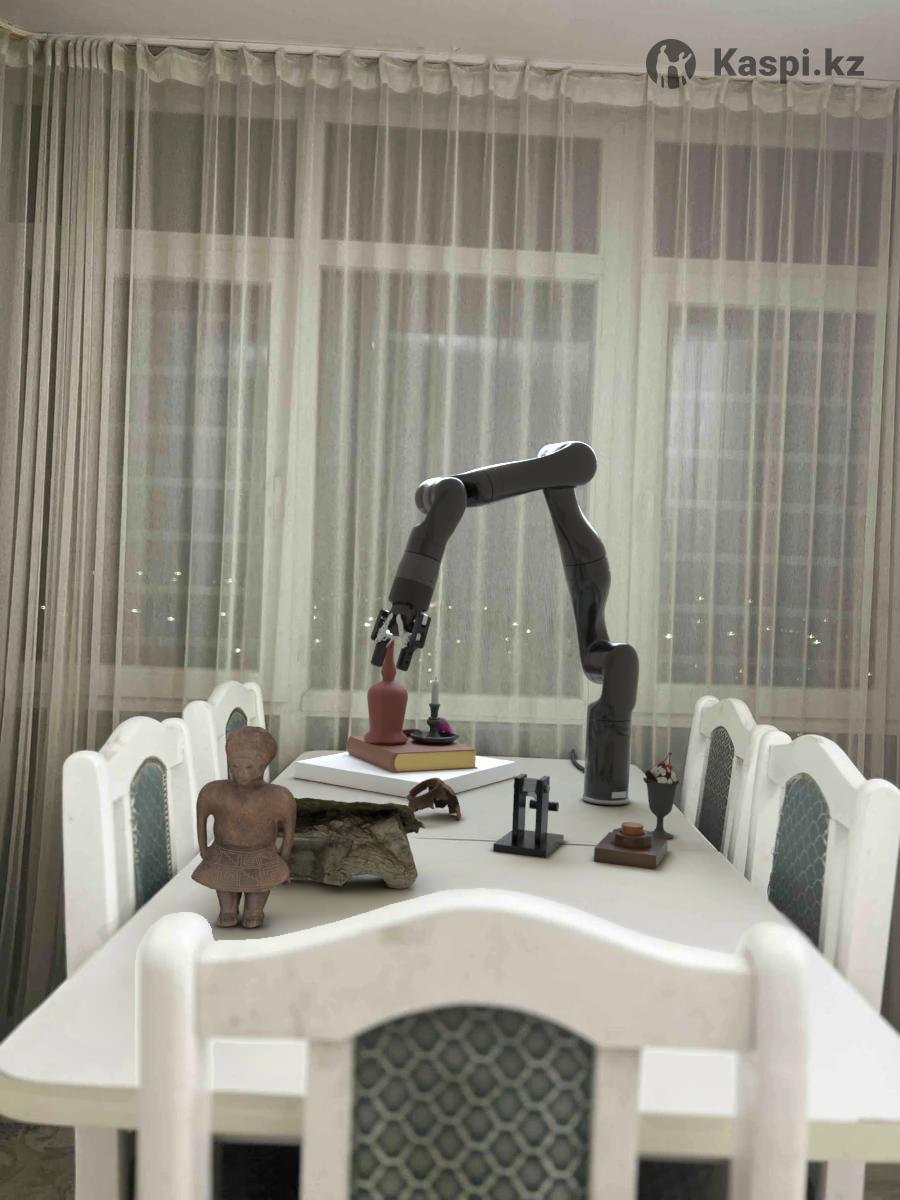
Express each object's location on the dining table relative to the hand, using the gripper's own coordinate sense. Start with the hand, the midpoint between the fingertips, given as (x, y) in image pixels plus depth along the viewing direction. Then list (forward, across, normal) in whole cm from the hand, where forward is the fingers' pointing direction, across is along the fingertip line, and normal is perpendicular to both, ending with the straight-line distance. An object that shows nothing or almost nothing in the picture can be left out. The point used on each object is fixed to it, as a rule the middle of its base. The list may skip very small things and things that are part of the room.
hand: (388, 667), depth 187 cm
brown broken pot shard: (+23, +3, -22) cm, 32 cm away
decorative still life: (+18, +39, -39) cm, 57 cm away
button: (+16, -35, -33) cm, 51 cm away
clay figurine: (+40, -36, +32) cm, 63 cm away
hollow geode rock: (+35, -25, +15) cm, 45 cm away
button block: (+19, -35, -34) cm, 53 cm away
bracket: (+22, -22, -23) cm, 39 cm away
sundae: (+15, -27, -49) cm, 58 cm away
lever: (+15, -20, -24) cm, 35 cm away
